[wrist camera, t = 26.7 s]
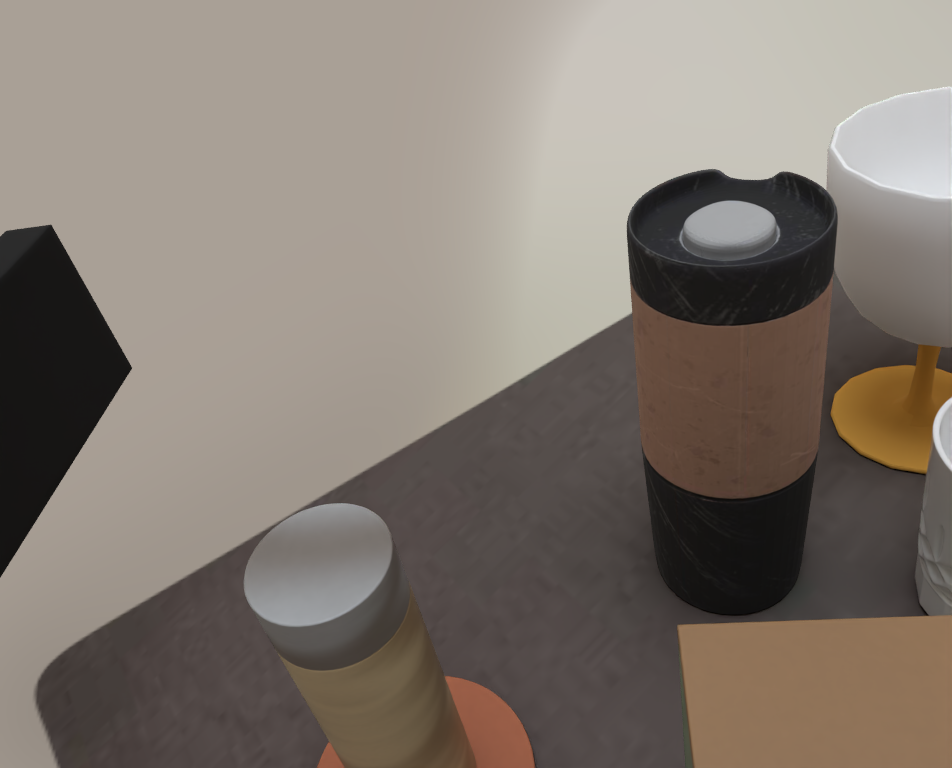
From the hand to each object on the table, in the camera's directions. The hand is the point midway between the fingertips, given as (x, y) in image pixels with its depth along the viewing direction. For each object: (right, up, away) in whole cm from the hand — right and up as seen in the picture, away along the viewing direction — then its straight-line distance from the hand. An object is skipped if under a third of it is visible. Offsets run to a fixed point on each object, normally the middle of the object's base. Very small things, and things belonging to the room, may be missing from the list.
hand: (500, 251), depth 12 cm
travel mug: (+13, -11, +31) cm, 36 cm away
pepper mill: (-3, -14, +27) cm, 31 cm away
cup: (+25, -4, +36) cm, 44 cm away
